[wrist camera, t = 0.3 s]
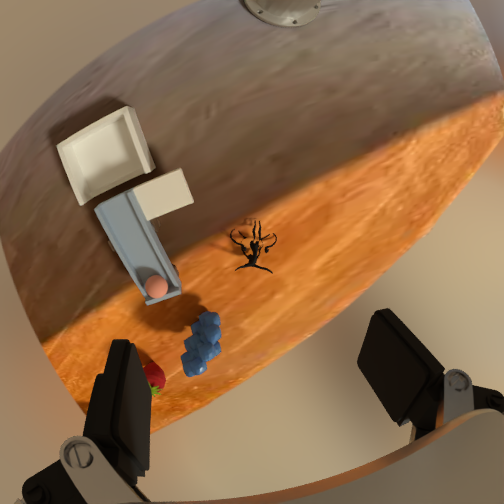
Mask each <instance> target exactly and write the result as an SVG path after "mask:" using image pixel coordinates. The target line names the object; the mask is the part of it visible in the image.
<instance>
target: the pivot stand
mask: <svg viewBox="0 0 504 504" xmlns="http://www.w3.org/2000/svg"><path fill="white" fill-rule="evenodd" d="M150 223H151V224H153V225H154V228H155V230H154V231H155V233H156V232H158V230H159V228H160V222H159V220H158V218H157V217H156V218H153V219H151V220H150ZM108 243H109V245H110V247H111V249H112V251H113V252H114V251H116V250H115V248H114V246H113V244H112V243H111V241H110V239H109V240H108Z"/></svg>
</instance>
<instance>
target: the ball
mask: <svg viewBox="0 0 504 504" xmlns="http://www.w3.org/2000/svg"><path fill="white" fill-rule="evenodd" d="M145 289H146V292H147V293H148V295H149V296H151V297H153V298H161V297H163V296H164V295H165V294H166V292H167V290H168V284H167V281H166V280H165V279H164V278H163V277H162V276H159V275H153V276H151V277H149V278H148V280H147V281H146V284H145Z"/></svg>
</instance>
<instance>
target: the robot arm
mask: <svg viewBox="0 0 504 504" xmlns="http://www.w3.org/2000/svg"><path fill="white" fill-rule="evenodd" d="M320 1H321V0H244V2H245V5H246V6H247V8H248V9H249V11H250V12H251V13H252V14H253V15H254V16H256V17H257V18H259V19H260V20H262V21H264V22H266V23H268V24H271V25H274V26H278V27H285V28H293V27H299V26H303V25H305V24H308V23H309V22H311V21H312V20H313V19H314V18H315V17H316V16H317V15H318V13H319V11H320V5H321V2H320ZM259 13H260V14H259ZM292 22H293V23H294V24H293V23H292ZM357 364H358V367H359V369H360V370H361V372H362V373H363V375H364V376H365V378H366V379H367V381H368V382H369V384H370V385H371V387H372V389H373V390H374V392H375V393H376V395H377V397H378V398H379V400H380V401H381V403H382V404H383V406H384V408H385V409H386V411H387V412H388V414H389V416H390V417H391V419H392V420H393V421H394V422H397V424H398V425H399V427H400V426H402V425H404V424H406V423H408V422H409V421H411V422H412V430H411V436H410V441H409V444H408V445H406V446H404V447H403V448H400V449H398V450H396V451H394V452H392V453H390V454H388V455H386V456H384V457H381V458H379V459H377V460H375V461H372V462H370V463H367V464H365V465H363V466H360V467H358V468H355V469H352V470H350V471H347V472H344V473H341V474H339V475H336V476H332V477H329V478H326V479H323V480H320V481H316V482H313V483H309V484H305V485H302V486H298V487H294V488H289V489H285V490H281V491H276V492H271V493H265V494H260V495H253V496H247V497H239V498H231V499H221V500H209V501H189V502H151V501H150V500H149V499H148V498H147V497H146V496H145V495H144V494H143V492H141V490H140V489H139V488H138V487H137V486H136V484H137V476H143V477H145V470H149V456H150V455H149V454H150V453H149V452H150V419H151V401H152V393H151V388H150V385H149V383H148V380H147V378H146V375H145V372H144V370H143V367H142V364H141V361H140V359H139V356H138V353H137V350H136V347H135V344H134V343H130V342H129V340H128V339H114V340H113V341H112V344H111V347H110V351H109V354H108V358H107V362H106V366H105V369H104V373H103V374H98V375H97V376H96V379H95V382H94V386H93V390H92V394H91V398H90V403H89V407H88V411H87V416H86V421H85V426H84V431H83V436H73V437H71V438H69V439H67V440H66V441H64V443H63V444H62V446H61V448H60V459H59V460H58V461H57V462H55V463H53V464H51V465H50V466H48V467H47V468H45V469H43V470H42V471H40V472H38V473H37V474H35V475H34V476H32V477H30V478H29V479H27V480H26V481H25V482H24V484H23V487H22V495H23V498H22V500H20V499H18V500H17V501H16V502H15V503H14V504H504V396H503V395H502V394H501V393H500V392H498V391H496V390H492V389H488V388H483V387H479V386H474V385H472V381H471V379H470V377H469V376H468V375H467V374H466V373H465V372H464V371H462V370H458V369H452V370H449V371H448V372H447V373H446V374H445V375H444V373H443V372H444V370H445V368H444V367H443V366H442V365H441V364H440V363H439V361H438V360H437V359H436V358H435V357H434V356H433V355H432V354H431V352H430V351H429V350H428V349H427V348H426V347H425V346H424V345H423V344H422V343H421V341H419V339H418V338H417V337H416V336H415V335H414V334H413V333H412V332H411V331H410V330H409V329H408V328H407V326H406V325H405V324H404V323H403V322H402V321H401V320H400V319H399V318H398V317H397V316H396V315H395V314H394V313H393V312H392V311H391V310H390V309H388V308H386V309H382V310H377V311H375V313H374V315H372V317H371V320H370V323H369V326H368V330H367V333H366V336H365V339H364V342H363V345H362V348H361V351H360V354H359V357H358V360H357Z"/></svg>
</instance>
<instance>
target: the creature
mask: <svg viewBox="0 0 504 504" xmlns="http://www.w3.org/2000/svg"><path fill="white" fill-rule="evenodd" d="M259 226H260V228H259V231H258V233H259V241H260V240H261V241H262V239H264V238H266V237H267V236H269V235H270V234H269V235H267V236H266V237H264V238H262V239H261V225H260V221H259ZM255 228H256V221H255V225H254V228H253V231H252V232H253V236H254V240H255ZM234 230H235V229H234ZM232 231H233V230H232ZM232 231H231V233H232ZM239 233H240V232H239ZM240 234H241V233H240ZM273 234H274V233H273ZM241 235H242V234H241ZM274 235H275V234H274ZM242 236H243V235H242ZM243 237H244V236H243ZM275 237H276V235H275ZM230 238H231V239H232V236H231V234H230ZM245 238H246V237H244V239H245ZM254 240H253V241H251V242H250V247H251V249H252V251H253V255H251V254H250V255H248V256H247V255H246V254H245V252H244V251H246V247H244V245H243V244H240V243H237V242H236V241H235V240H234V239H232V241H233V242H234V243H236V244H238V245H241V249H242V251H243V253H244V254H245V256H246V257H247V258H248V259H249V263H247V264H245V265H244V266H240V267H238V268H237V269H239V268H245V267H250V266H251V267H256V268H260V269H264V270H267V271H269V272H271V273H272V271H270V270H269V269H267V268H264V267H260V266H258V265H256V261H257V258H258V256H259V255H260V250H261V248H262V247H263V246H262V247H261V248H260V249H259V255H258V256H257V251H258V247H259V246H260V245H259V241H256V243H253V242H254ZM276 241H277V237H276ZM276 241H275V242H274V243H273V244H272V245H270V246H267V247H265V253H267V252H268V251H269V249H268V248H269V247H272V246H273V245H274V244H275V243H276ZM241 242H242V241H241ZM243 249H244V250H243ZM267 249H268V250H267ZM237 269H236V270H237ZM236 270H235V271H236Z"/></svg>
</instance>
